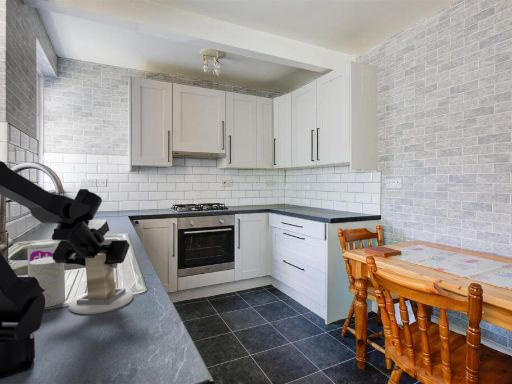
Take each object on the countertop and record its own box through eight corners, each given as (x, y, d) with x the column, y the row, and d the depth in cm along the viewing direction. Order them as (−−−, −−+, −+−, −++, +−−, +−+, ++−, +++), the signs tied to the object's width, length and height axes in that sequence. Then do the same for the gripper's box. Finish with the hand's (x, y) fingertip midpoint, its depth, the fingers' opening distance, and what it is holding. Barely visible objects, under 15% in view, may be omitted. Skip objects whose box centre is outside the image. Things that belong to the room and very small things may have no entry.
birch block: (105, 300, 81) (102, 254, 80) (88, 301, 81) (84, 254, 81) (115, 294, 86) (112, 250, 85) (99, 294, 86) (96, 250, 86)
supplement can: (54, 292, 91) (53, 244, 90) (23, 295, 88) (22, 246, 88) (64, 283, 99) (63, 239, 98) (35, 286, 96) (34, 241, 96)
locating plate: (114, 314, 75) (114, 301, 75) (54, 313, 76) (54, 300, 76) (142, 291, 91) (141, 280, 91) (92, 290, 92) (92, 279, 92)
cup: (24, 309, 78) (23, 265, 78) (38, 298, 86) (37, 257, 86) (59, 305, 81) (57, 263, 80) (69, 295, 88) (68, 255, 88)
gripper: (125, 210, 78) (144, 243, 90) (58, 210, 79) (85, 242, 90) (110, 246, 71) (132, 276, 82) (36, 245, 71) (68, 276, 83)
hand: (104, 266), depth 84 cm, fingers open, 7 cm apart
